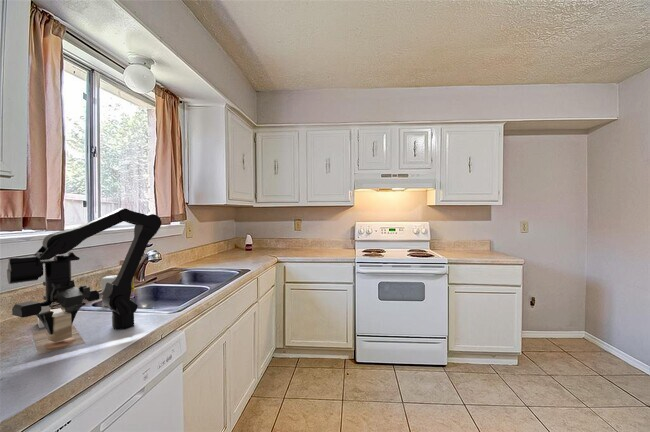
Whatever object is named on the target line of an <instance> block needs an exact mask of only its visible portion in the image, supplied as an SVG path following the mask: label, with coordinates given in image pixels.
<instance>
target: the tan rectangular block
mask: <svg viewBox="0 0 650 432" xmlns="http://www.w3.org/2000/svg"><path fill="white" fill-rule="evenodd" d="M62 311H63V310H62ZM52 323H53V334H52V335H50V334H49V333H48V340H50V341H53V342H58V341H62V340H65V339H68V338H71V337H72V324H73V323H72V322H71V313H68V312H65V310H64V311H63V312H59V313H55V314H53V315H52Z"/></svg>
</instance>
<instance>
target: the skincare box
mask: <svg viewBox="0 0 650 432" xmlns="http://www.w3.org/2000/svg"><path fill="white" fill-rule="evenodd" d="M117 276H118V274H117V275H116V274H115V275H106V276H104V277H102V278H101V279H100V280H101V282H100V283H101V293H102V292H103V291H104V290H105V286H106V283H107V282H108V283H112V282H113V281H114V280H115V279H116V278H117ZM102 297H103V295H101V298H102ZM101 302H102V303H101V305H102V308H104V307H107V306H106V305H105V304H104V303H103V301H102V300H101Z"/></svg>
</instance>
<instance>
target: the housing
mask: <svg viewBox="0 0 650 432" xmlns="http://www.w3.org/2000/svg"><path fill="white" fill-rule="evenodd" d="M50 311H53V312H54V313H53V314H55V313H59V312H63V309H62V308H61V307H59V308H54V309H50ZM37 325H38V328H39V329H41V328H42V329H43V328H45V326H44V325H43V323H42V322H41V320H40V319H39V318H38V317H37Z"/></svg>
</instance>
